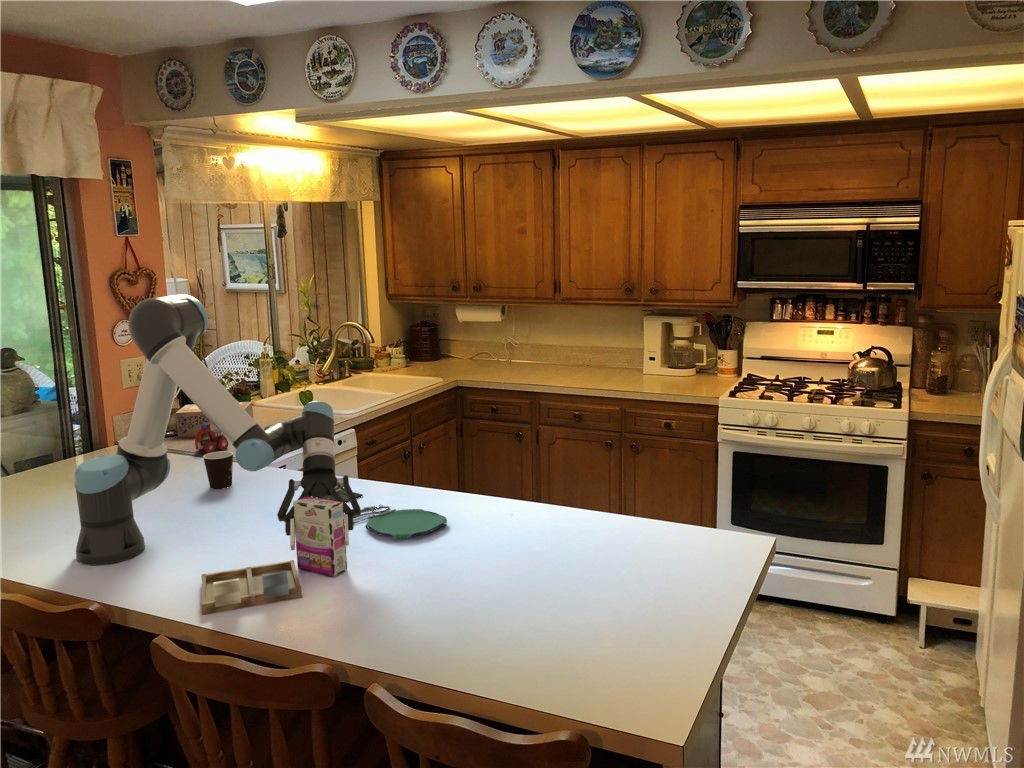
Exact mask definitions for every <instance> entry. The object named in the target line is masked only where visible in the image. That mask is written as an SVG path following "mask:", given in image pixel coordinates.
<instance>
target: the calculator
mask: <svg viewBox="0 0 1024 768" xmlns="http://www.w3.org/2000/svg"><path fill="white" fill-rule="evenodd" d="M334 489H335V490H336V492H337V493H338V494H339V496H340V497H341V498H342V499H343V500H344V501H345V502H346V503H349V502H350V501H349V499H348V497H347V495H346V493H345V490H344V487H341V486H340V484H337V485H336V486H335V488H334ZM352 492H353V494H354V496H355V498H357V499H360V498H362V497H361V496H363V494H362V493H359V492H354V491H352ZM359 497H360V498H359ZM316 498H320V499H327V500H333V499H331V498H330V496H329V495H327V496H326V497H316ZM333 501H334V500H333ZM348 501H349V502H348Z"/></svg>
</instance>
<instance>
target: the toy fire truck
mask: <svg viewBox="0 0 1024 768" xmlns="http://www.w3.org/2000/svg"><path fill="white" fill-rule="evenodd" d="M201 428H202V429H199V430H198V433H197V436H195V438H194V444H195V445H194V446H195V449H196V450H197V451H202V452H203V451H204V452H205V453H207V454H208V453H212V452H216V451H215V450H216V448H218V449H219V450H220V451H225V450H227V448H228V447H229V443H230V442H229V441H228V440H227V438H226V437H225V436H224V435H223V434H222V433H221V432H220V431H219V430H218V429H217V428H216V426H215V425H214V424H213V423H212V422H211V423H208V424H202V425H201ZM207 432H208V433H207Z"/></svg>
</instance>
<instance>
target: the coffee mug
mask: <svg viewBox="0 0 1024 768" xmlns="http://www.w3.org/2000/svg"><path fill="white" fill-rule="evenodd" d="M233 457H234V453H233V451H225V450H220V451H214V452H212V453H208V452H207V453H206V454H204V455H203V457H202V459H203V462H204V467H205V471H206V475H207V480H208V484H209V488H210V489H211V488H212V490H224V489H223V488H225V489H228V488H227V487H229V488H231V487H232V486H233V468H234V467H233V465H234V464H233V463H234V462H233V461H234V458H233ZM231 485H232V486H231ZM230 486H231V487H230Z"/></svg>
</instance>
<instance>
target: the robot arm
mask: <svg viewBox="0 0 1024 768" xmlns="http://www.w3.org/2000/svg"><path fill="white" fill-rule="evenodd" d="M127 326H128V331H129V333H130V338H132V341H133V342H134V345H135V346H136V347H137V348H138V350H139V352H140V353H141V354H142V356H143V357H144V358H146V359H145V362H144V367H143V370H142V375H141V379H140V384H139V386H138V392H137V395H136V400H135V403H134V408H133V410H132V411H133V412H132V414H131V415H132V416H131V420H130V425H129V427H128V428H129V429H128V431H127V432H128V433H127V436H126V435H125V436H124V437H122V438H120V439H119V441H118V444H117V445H118V446H117V449H116V453H115V454H105V455H99V456H97V457H92V458H90V459H86V460H85V461H83V462H82V463H80V464H79V465H78V466H77V467H76V469H75V470H74V485H73V486H74V488H75V493H76V499H77V500H76V501H77V506H78V514H79V515H78V516H79V521H80V531H79V535H78V538H77V543H76V546H75V547H76V548H75V555H76V561H77V562H78V563H80V564H82V565H89V566H100V565H103V566H104V565H109V564H115V563H119V562H123V561H127V560H129V559H132V558H134V557H136V556H138V555H140V554H141V553H143V551H144V550H145V549H146V544H145V537H144V535H143V533H142V531H141V530H140V528H139V525H138V523H137V522H136V521H135V518H134V517H135V516H134V509H133V502H134V501H135V500H136V499H138V498H140V497H143V495H146V494H148V493H149V492H152V491H154V490H156V489H157V488H159V487H160V485H162V484H163V483H164V482H165V480H167V478H168V476H169V474H170V471H171V460H170V458H168V447H167V445H166V444H165V442H164V440H165V437H166V433H167V428H168V426H169V422H170V417H171V413H172V410H173V405H174V401H175V398H176V394H177V389H178V388H180V389H181V391H182V392H183V393H184V394H185V395H186V396H187V397H188V398H189V399H190V400H191V402H192V403H193V404H195V405H196V406H197V407H198V408H199V409H200V410H201V411H202V412H203V413H204V415H205V416H206V417H207V418H208V419H209V420H210V421H211V422H212V423H213V424H214V425H215V426H216V428H217V429H218V430H219V431H220V432H221V433H222V434H223V435H224V436H225V437H226V438H227V441H228V443H230V444H231V445H232V446H233V447H234V449H235V458H236V461H237V464H238V465H239V467H240V468H241V469H243V470H245V471H247V472H257V471H260V470H262V469H265V468H266V467H269V466H270V465H271V464H272V463H273V462H275V461H276V460H278V459H280V458H281V457H283V456H284V455H286V454H287V453H289V452H291V451H294V450H297V449H301V448H302V478H301V480H294V479H293V478H292V479H289V480H288V489H287V491H286V494H285V495H284V497H283V500H282V503H281V505H280V507H279V508H278V511H277V514H276V516H277V519H278V521H279V522H284V525H285V529H284V530H285V531H284V532H285V534H286V536H290V538H289V542H290V545H289V546H290V550H291V551H295V550H296V537H295V524H294V511H293V505H292V506H291V503H292V502H293V499H294V496H295V492H296V491H298V490H299V488H300V487H301V488H302V489H303V490H302V491H301V494H300V495H299V496H298V498H297V500H299V499H301V498H303V497H306V496H308V497H314V498H317V497H326V496H327V495H329V496H330V498H331V499H333V500H334V501H339V502H343V509H344V514H345V515H344V526H345V544H346V547H348V546H350V535H349V534H350V532H349V531H354V525H353V522H354V519H353V517H354V516H356V515H360V514H362V512H361V506H360V504H359V503H358V500H357V499H356V498H355V496H354V494H353V492H354V491H353V489H352V487H351V486H350V481H349V476H348V475H343V477H337V476H336V460H335V458H336V455H335V454H336V452H335V450H336V449H335V419H334V409H333V407H332V406H331V405H330V404H329V403H328V402H325V401H321V400H320V401H319V400H313V401H310V402H307V403H306V404H304V406H303V408H302V413H301V415H298V416H296V417H293V418H291V419H287V420H284V421H281V422H277V423H272V424H269V425H267V426H264V427H261V425H259V423H257V421H256V420H255V419H254V417H253V418H252V417H251V416H250V415H249V414H248V413H247V412H246V410H245V409H244V408H243V407H242V406H241V405H240V404H239V403H238V402H239V401H238V400H237V399H236V398H235V397H234V396H233V394H231V393H230V392H229V390H228V389H227V388H226V387H225V386H224V384H222V383H221V381H220V380H219V379H218V378H217V377H216V376H215V375H214V374H213V373H212V372H211V370H209V368H208V367H207V366H206V365H205V364H204V363H203V362H202V361H201V359H200V358H199V357H198V356H197V355H196V354H195V352H194V349H195V346H196V342H197V340H198V338H201V337H202V336H203V335H204V334H205V333H206V331H207V329H208V327H209V315H208V311H207V310H206V308H205V306H204V304H203V303H202V302H201V301H200V300H198V299H197V298H195V297H194V296H192V295H189V294H182V293H181V294H179V293H178V294H177V293H172V294H169V295H167V296H166V295H165V296H159V297H149V298H146V299H144V300H141V301H140V302H138V303H137V304H135V306H134V307H133V309H132V310H131V312H130V313H129V317H128V325H127ZM337 484H340V486H341V487H343V488H344V490H345V493H346V495H347V497H348V499H349V503H350V505H351V507H352V508H351V507H350V506H349V505H348V504H347V502H346V503H345V501H344V500H343V499H342V498H341V497H340V496H339V494H338V493H337V492H336V490H335V489H334V488H335V486H336V485H337ZM290 506H291V508H290ZM289 508H290V509H289Z"/></svg>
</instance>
